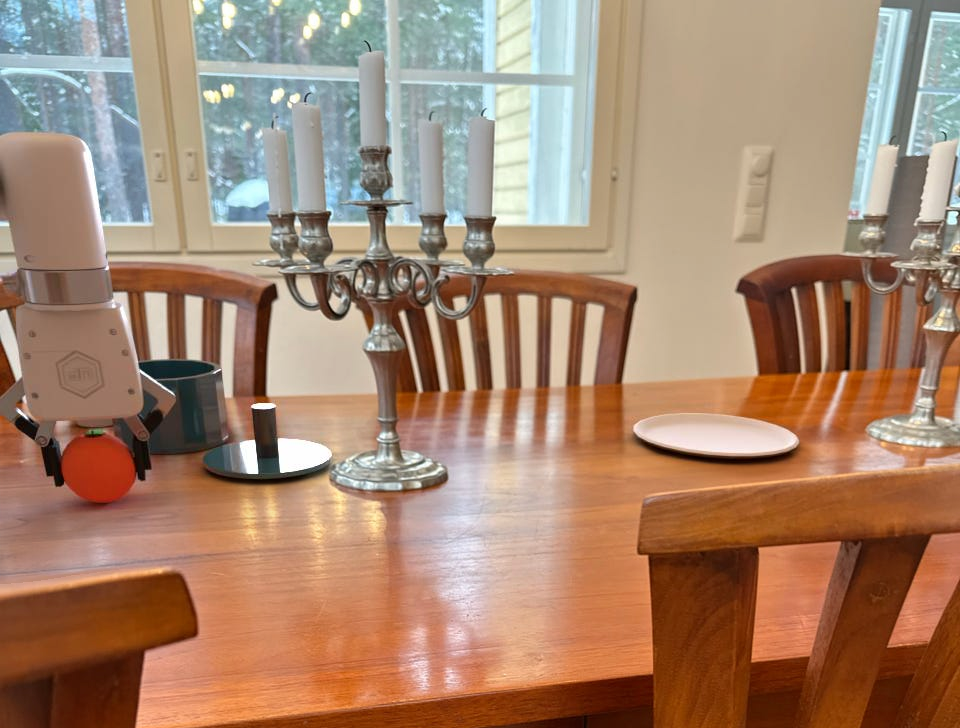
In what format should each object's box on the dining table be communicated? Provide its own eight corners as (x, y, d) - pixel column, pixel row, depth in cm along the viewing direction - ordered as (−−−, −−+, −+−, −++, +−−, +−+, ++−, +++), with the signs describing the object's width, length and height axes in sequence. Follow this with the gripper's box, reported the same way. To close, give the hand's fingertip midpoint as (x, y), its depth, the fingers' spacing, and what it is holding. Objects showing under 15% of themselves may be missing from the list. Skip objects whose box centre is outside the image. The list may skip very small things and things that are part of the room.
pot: (114, 464, 101) (101, 387, 97) (118, 424, 116) (107, 357, 112) (234, 456, 104) (226, 382, 101) (223, 419, 120) (216, 353, 116)
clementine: (75, 489, 93) (61, 420, 89) (145, 485, 94) (134, 418, 91) (62, 515, 86) (47, 441, 82) (138, 510, 87) (127, 438, 84)
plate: (669, 467, 104) (670, 457, 103) (609, 423, 122) (610, 414, 121) (830, 460, 108) (832, 450, 107) (750, 419, 126) (751, 410, 125)
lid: (207, 489, 94) (199, 425, 90) (200, 452, 105) (193, 395, 102) (342, 478, 98) (339, 417, 94) (321, 445, 110) (317, 389, 106)
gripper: (-48, 295, 75) (0, 498, 83) (169, 292, 80) (194, 484, 88) (-32, 285, 81) (11, 475, 90) (168, 283, 86) (191, 463, 95)
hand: (101, 478), depth 89 cm, fingers closed on clementine, 7 cm apart
